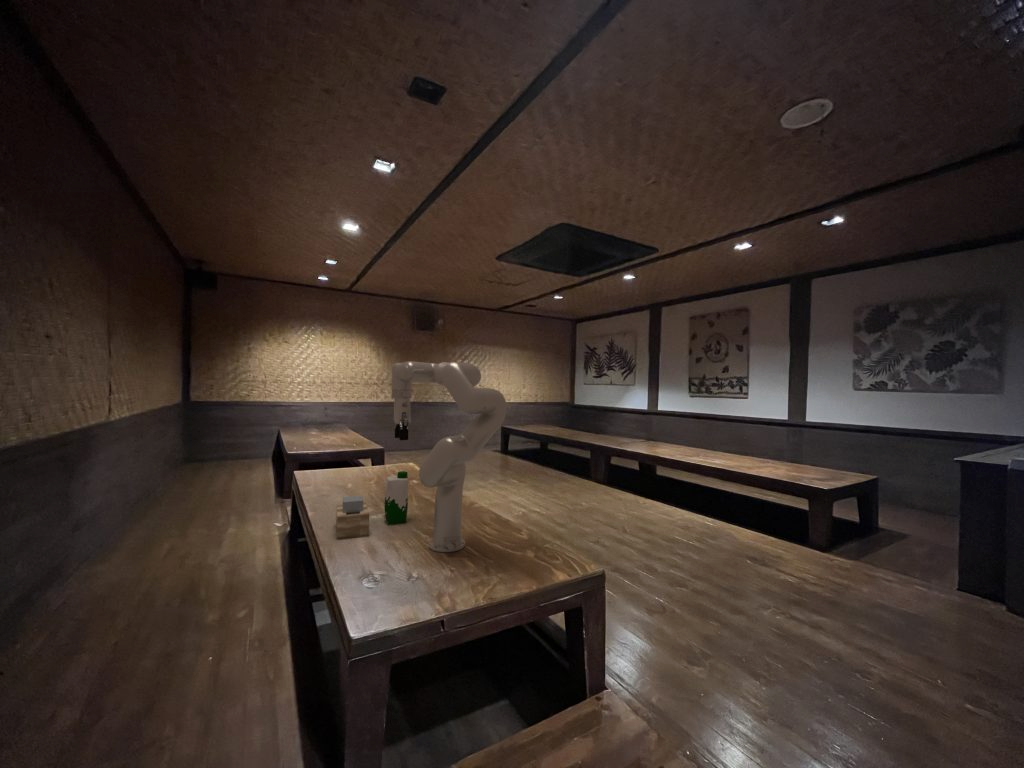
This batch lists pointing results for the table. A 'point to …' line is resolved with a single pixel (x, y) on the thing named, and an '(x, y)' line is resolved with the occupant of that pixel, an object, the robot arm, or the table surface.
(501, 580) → the table surface
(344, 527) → the slot rack
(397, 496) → the milk carton
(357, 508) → the t peg
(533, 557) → the table surface
